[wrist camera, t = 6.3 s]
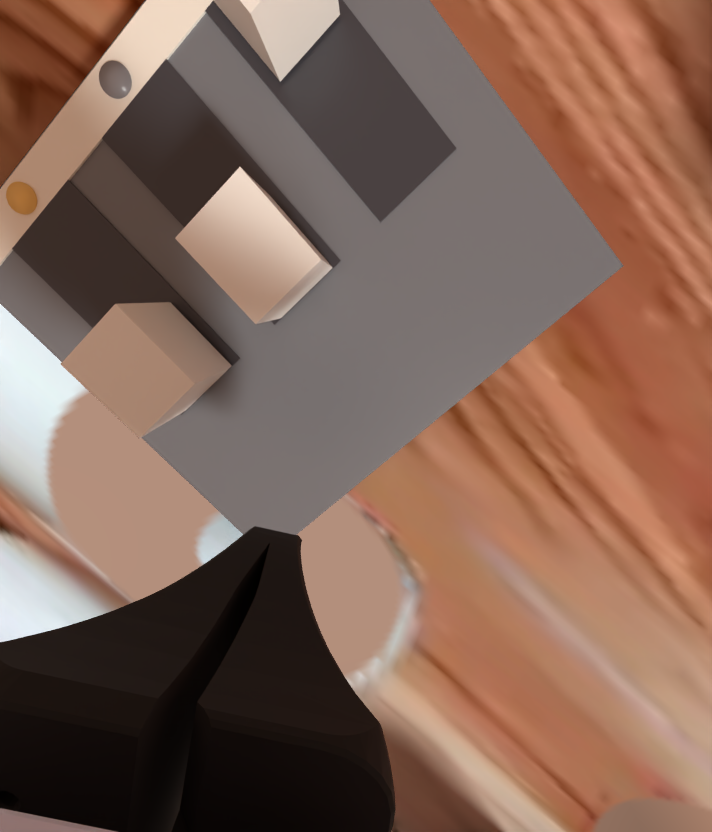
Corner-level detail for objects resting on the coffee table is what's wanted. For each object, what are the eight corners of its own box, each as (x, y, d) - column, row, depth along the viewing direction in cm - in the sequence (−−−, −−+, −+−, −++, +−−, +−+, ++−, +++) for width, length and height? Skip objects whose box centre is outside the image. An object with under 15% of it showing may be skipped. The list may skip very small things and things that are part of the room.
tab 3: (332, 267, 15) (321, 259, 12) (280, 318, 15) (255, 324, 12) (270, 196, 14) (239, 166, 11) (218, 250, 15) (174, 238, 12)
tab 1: (231, 365, 16) (194, 383, 13) (185, 410, 16) (139, 438, 13) (170, 302, 15) (115, 303, 12) (124, 350, 16) (60, 364, 13)
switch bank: (601, 268, 16) (626, 265, 15) (275, 538, 20) (267, 560, 18) (300, -137, 14) (290, -197, 12) (-16, 257, 17) (-57, 253, 15)
